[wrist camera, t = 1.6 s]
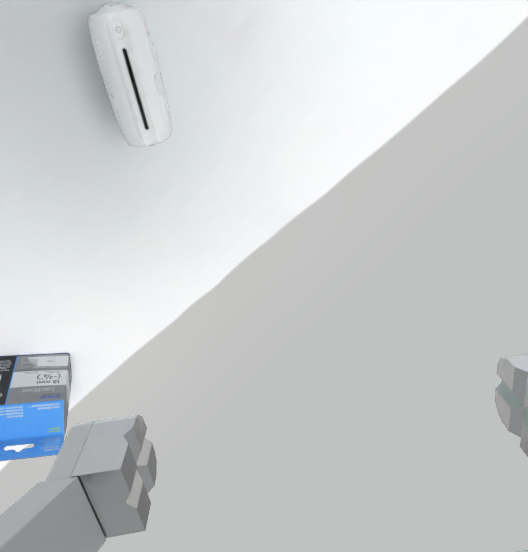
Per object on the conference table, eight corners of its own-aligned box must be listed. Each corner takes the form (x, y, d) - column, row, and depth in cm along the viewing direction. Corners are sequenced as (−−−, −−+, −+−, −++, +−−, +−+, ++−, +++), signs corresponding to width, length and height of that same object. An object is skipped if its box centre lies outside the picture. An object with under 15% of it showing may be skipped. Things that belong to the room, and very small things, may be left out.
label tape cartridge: (70, 351, 57) (63, 428, 47) (72, 375, 59) (65, 454, 49) (-12, 355, 54) (-39, 438, 44) (-8, 380, 56) (-33, 466, 46)
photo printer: (84, 6, 40) (77, 10, 30) (134, -3, 41) (143, -2, 30) (122, 125, 46) (127, 162, 35) (165, 115, 46) (181, 149, 36)
